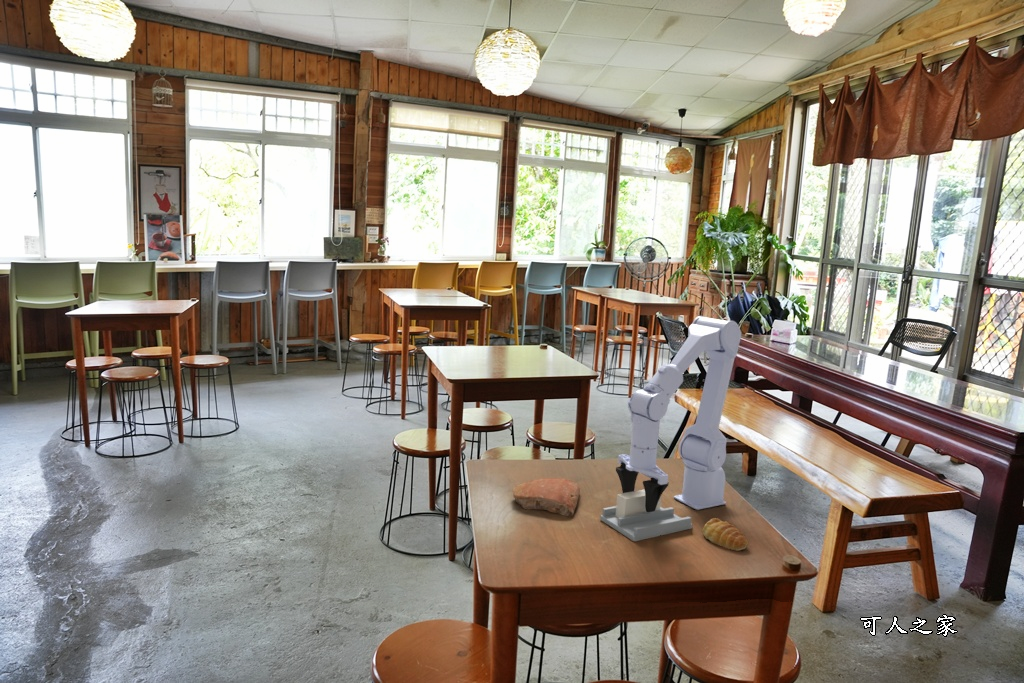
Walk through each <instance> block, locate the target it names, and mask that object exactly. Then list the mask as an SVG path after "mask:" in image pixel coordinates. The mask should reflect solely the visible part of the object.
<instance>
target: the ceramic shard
mask: <svg viewBox="0 0 1024 683" xmlns="http://www.w3.org/2000/svg"><path fill="white" fill-rule="evenodd" d="M580 488H581V487H580V486H579V484H577V483H576V482H575V481H572V480H569V479H567V478H558V477H557V478H555V477H554V478H552V477H551V478H547V477H546V478H537V479H531V480H530V481H525V482H522V483H520V484H517V485H515V486H514V487H513V489H512V495H513V498H514V501H515V502H516V503H517V504H519V505H520V506H521V507H522V509H524V510H546V511H548V512H550V513H555V514H559V515H562V516H566V517H572V516H573V515H574V513H575V510H576V507H577V505H578V500H579V496H580V492H581V489H580Z"/></svg>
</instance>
